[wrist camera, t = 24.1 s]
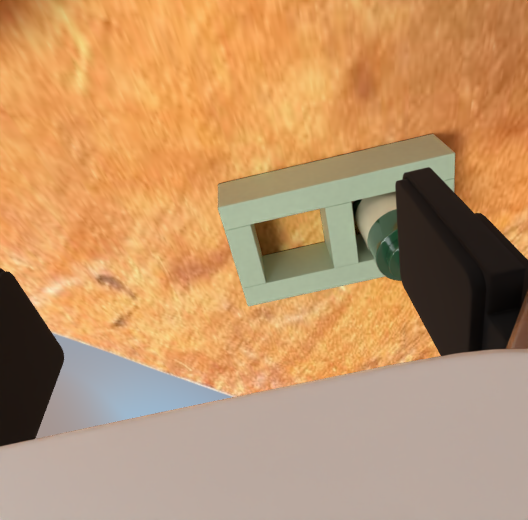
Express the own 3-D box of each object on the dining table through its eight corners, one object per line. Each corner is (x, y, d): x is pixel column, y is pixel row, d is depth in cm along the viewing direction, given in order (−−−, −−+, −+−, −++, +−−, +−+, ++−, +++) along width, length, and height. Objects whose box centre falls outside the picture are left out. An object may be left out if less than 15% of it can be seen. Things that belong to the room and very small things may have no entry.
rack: (217, 183, 40) (217, 207, 37) (433, 133, 39) (455, 152, 36) (245, 277, 46) (248, 306, 43) (433, 236, 45) (452, 261, 42)
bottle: (384, 162, 41) (442, 238, 30) (415, 200, 43) (479, 283, 32) (337, 199, 42) (376, 284, 32) (369, 234, 45) (416, 323, 34)
